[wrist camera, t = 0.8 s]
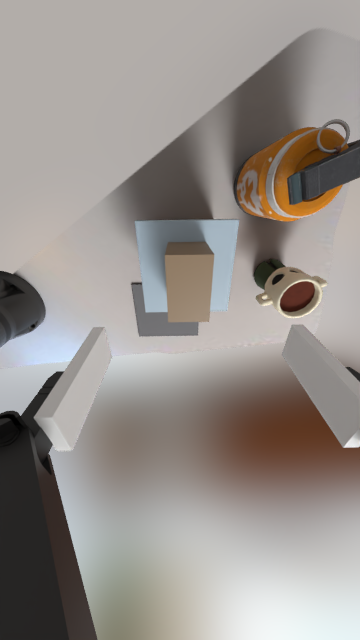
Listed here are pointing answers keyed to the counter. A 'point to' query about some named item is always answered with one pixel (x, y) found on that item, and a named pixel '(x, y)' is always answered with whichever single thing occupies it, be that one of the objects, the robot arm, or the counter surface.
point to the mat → (158, 320)
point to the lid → (186, 266)
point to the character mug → (288, 289)
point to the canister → (297, 173)
